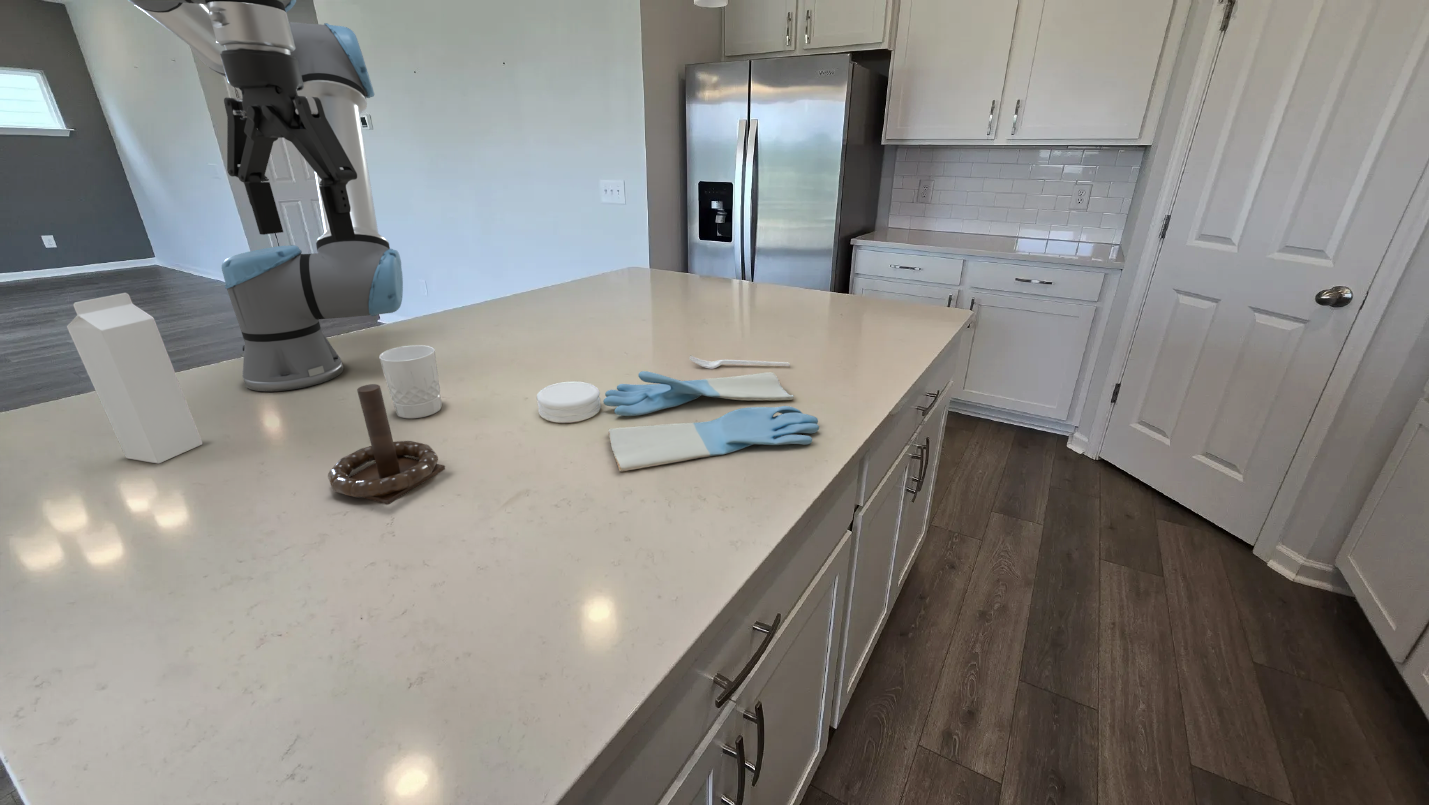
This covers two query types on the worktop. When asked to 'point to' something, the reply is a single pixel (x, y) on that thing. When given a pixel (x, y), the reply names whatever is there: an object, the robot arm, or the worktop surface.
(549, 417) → the white short cylinder
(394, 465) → the stand
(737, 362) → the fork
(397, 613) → the worktop surface
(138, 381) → the milk
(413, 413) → the white cup
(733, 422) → the rubber gloves
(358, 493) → the ring
